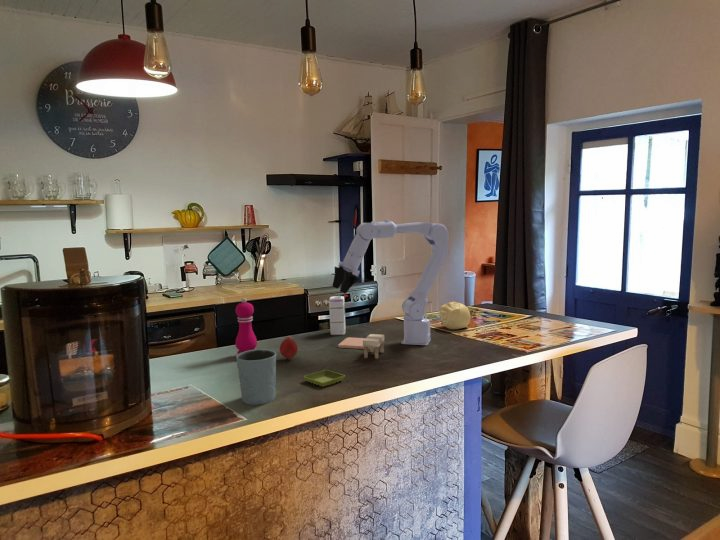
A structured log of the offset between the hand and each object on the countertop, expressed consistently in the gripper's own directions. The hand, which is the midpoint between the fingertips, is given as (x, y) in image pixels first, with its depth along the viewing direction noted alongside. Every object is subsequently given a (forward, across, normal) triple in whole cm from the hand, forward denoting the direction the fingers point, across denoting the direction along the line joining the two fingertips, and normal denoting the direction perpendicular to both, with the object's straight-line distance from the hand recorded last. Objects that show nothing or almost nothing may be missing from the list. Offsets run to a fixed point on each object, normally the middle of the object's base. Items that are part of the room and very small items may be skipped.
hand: (338, 290), depth 182 cm
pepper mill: (+33, -3, -19) cm, 38 cm away
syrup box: (+17, -19, +16) cm, 30 cm away
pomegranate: (+27, +8, -9) cm, 30 cm away
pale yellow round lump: (-4, -5, +56) cm, 57 cm away
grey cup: (+32, +39, -25) cm, 57 cm away
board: (+15, +2, +17) cm, 22 cm away
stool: (+14, +16, +15) cm, 26 cm away
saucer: (+24, +34, -7) cm, 42 cm away
